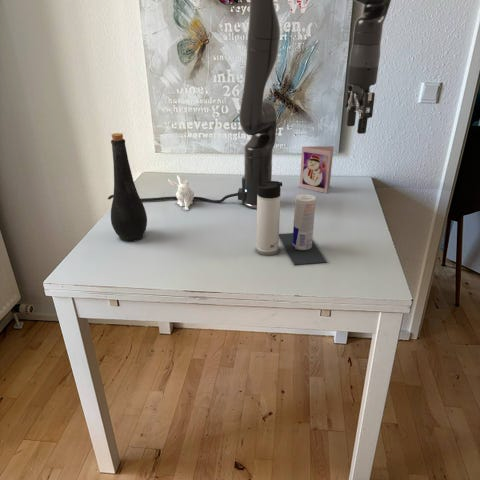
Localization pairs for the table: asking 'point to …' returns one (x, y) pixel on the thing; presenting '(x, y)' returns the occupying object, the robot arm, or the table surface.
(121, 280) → the table surface
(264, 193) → the travel mug
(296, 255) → the mat
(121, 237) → the bottle
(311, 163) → the greeting card
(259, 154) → the robot arm
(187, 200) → the rabbit figurine
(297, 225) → the beverage can
